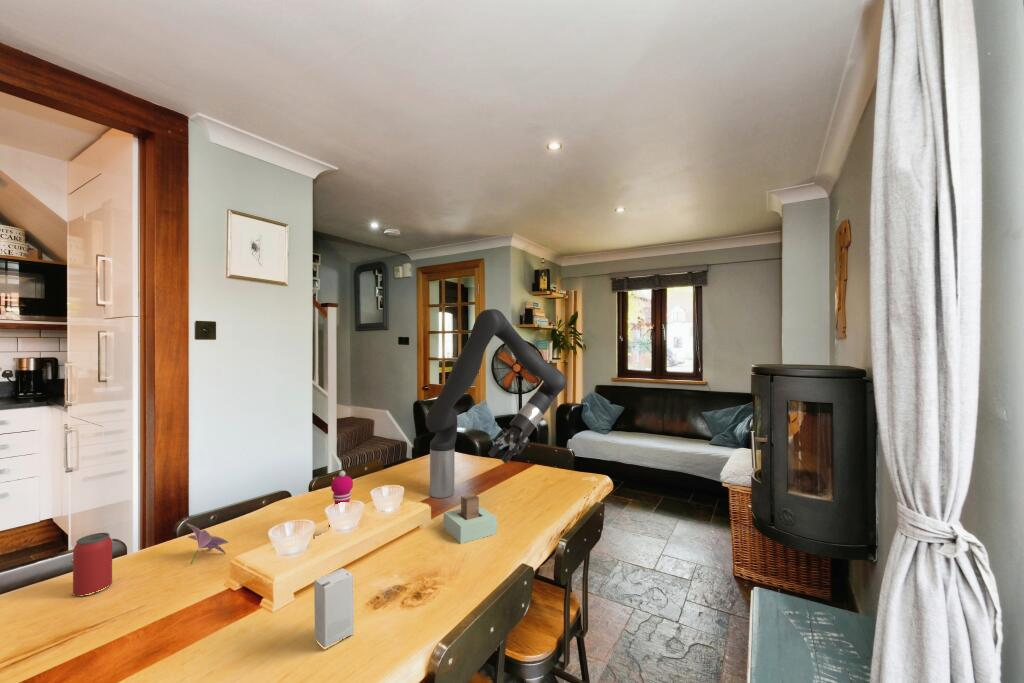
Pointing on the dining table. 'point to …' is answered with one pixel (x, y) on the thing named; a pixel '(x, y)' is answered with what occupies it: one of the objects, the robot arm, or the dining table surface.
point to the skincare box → (334, 607)
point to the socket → (470, 525)
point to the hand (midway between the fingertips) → (496, 458)
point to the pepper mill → (342, 488)
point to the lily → (206, 540)
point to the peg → (469, 506)
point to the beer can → (92, 563)
